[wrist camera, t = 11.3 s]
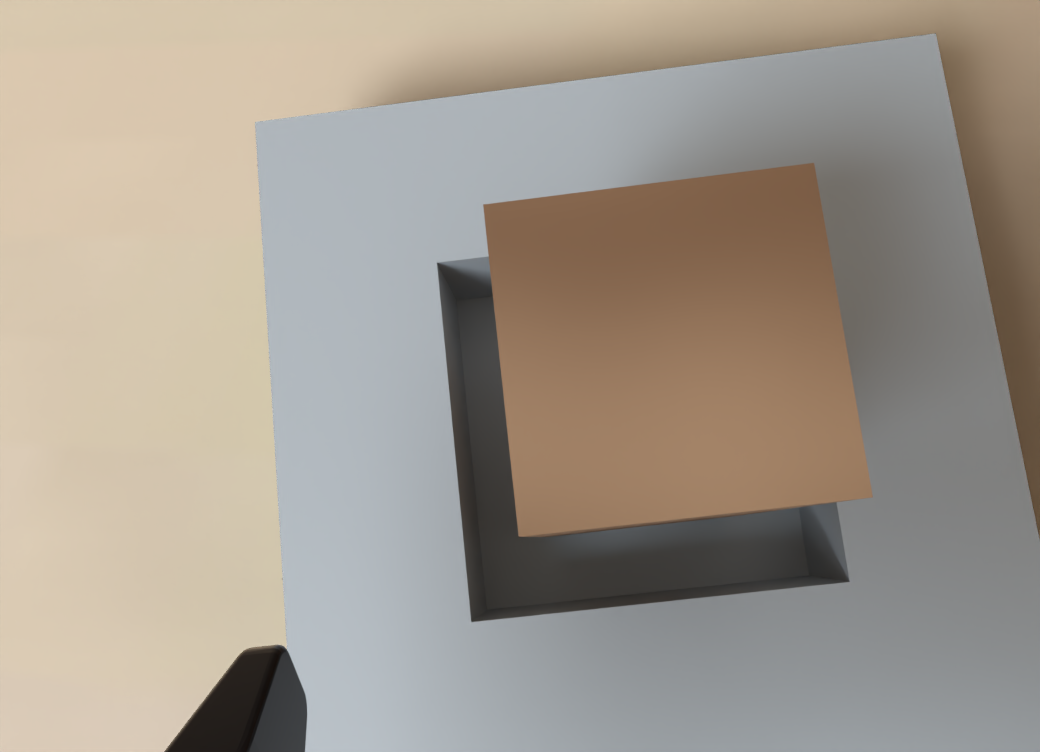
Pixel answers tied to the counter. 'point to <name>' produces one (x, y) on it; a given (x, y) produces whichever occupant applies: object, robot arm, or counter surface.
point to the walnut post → (672, 353)
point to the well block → (657, 548)
